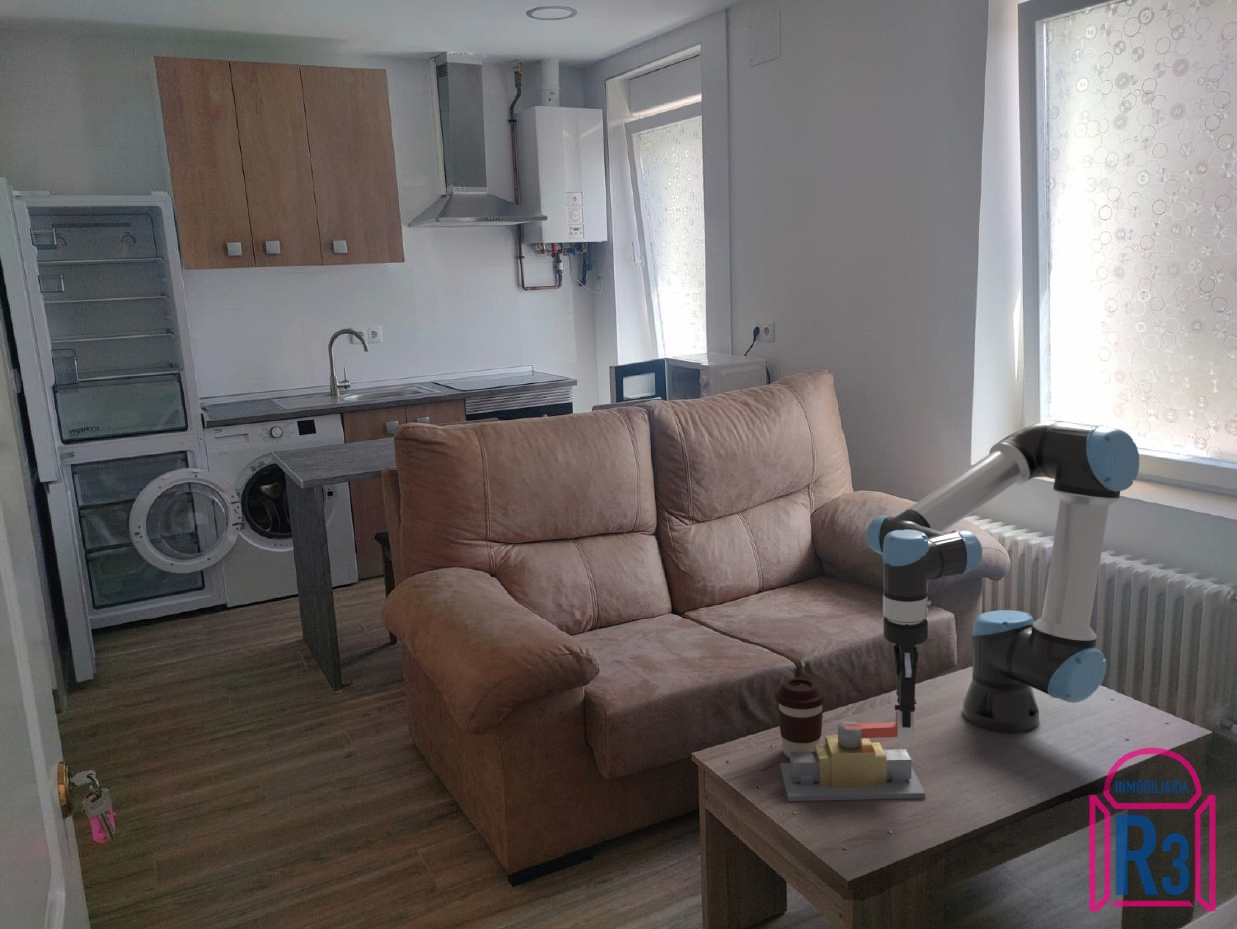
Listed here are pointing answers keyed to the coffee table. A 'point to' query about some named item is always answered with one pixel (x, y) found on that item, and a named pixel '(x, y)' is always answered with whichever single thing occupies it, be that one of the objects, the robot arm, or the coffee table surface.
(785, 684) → the coffee cup
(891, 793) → the mount board
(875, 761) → the pipe valve
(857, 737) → the lever
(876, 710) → the coffee table surface
